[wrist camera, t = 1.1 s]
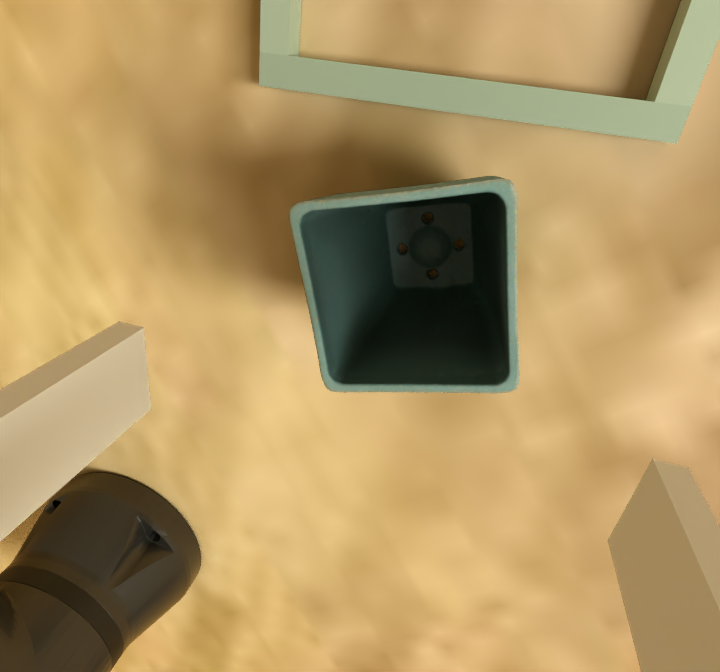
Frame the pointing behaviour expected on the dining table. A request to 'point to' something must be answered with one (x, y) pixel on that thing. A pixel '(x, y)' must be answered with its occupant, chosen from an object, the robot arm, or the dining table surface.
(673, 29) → the bay
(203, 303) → the dining table surface
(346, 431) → the dining table surface
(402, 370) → the flower pot
